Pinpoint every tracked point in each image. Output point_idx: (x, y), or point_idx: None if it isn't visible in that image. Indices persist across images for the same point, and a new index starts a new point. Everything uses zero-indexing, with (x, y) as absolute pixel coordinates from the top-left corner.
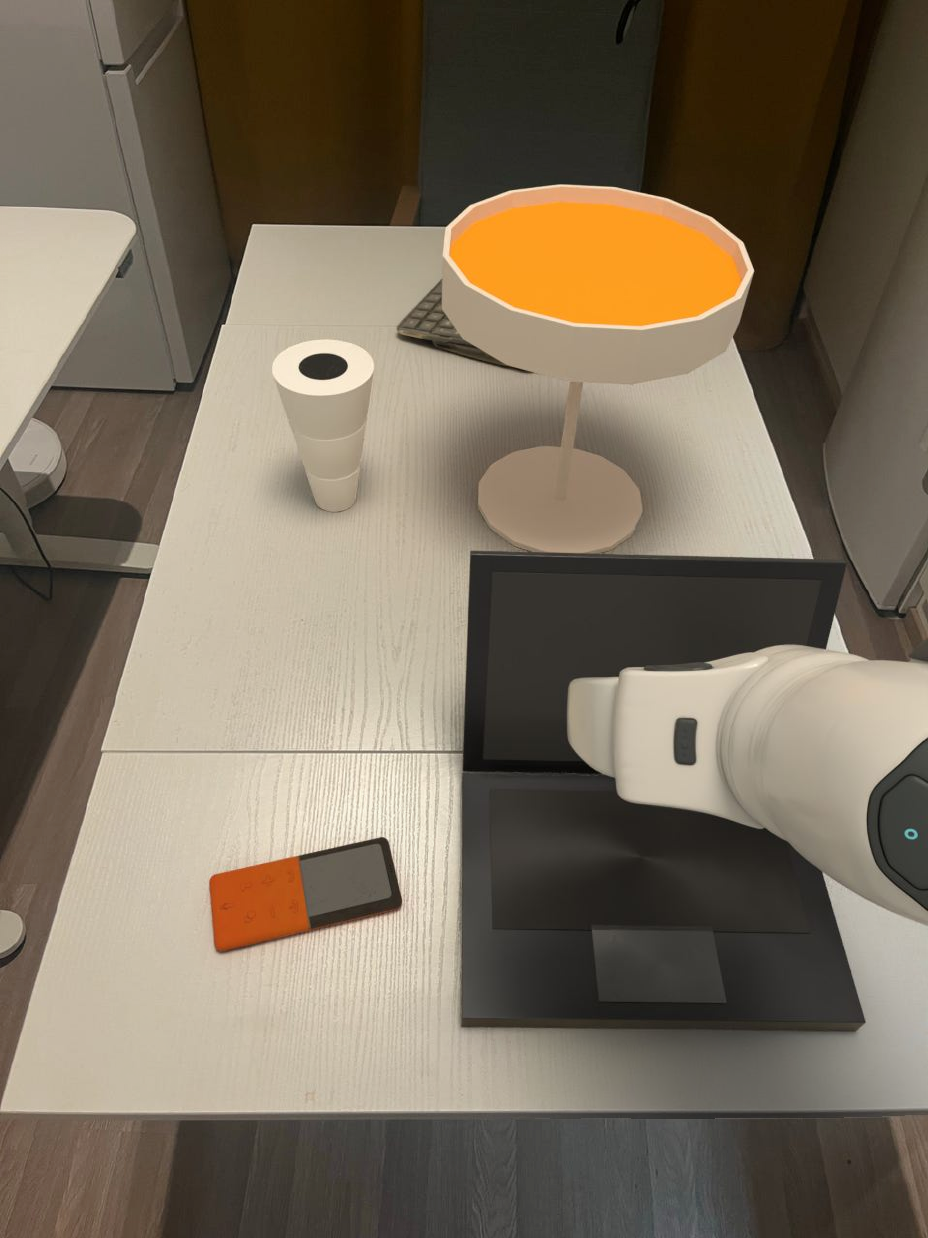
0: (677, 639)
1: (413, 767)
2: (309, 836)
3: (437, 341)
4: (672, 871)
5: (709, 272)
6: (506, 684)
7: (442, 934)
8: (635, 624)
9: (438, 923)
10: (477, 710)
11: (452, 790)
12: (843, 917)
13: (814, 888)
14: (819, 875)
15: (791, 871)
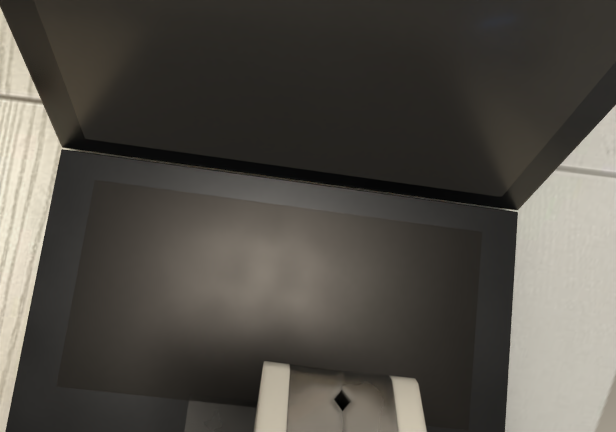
0: (386, 14)
1: (9, 122)
2: None
3: None
4: (316, 329)
5: None
6: (83, 46)
7: (6, 367)
8: None
9: (3, 352)
10: (51, 77)
11: (58, 164)
12: (516, 393)
13: (492, 370)
14: (504, 352)
15: (470, 345)
